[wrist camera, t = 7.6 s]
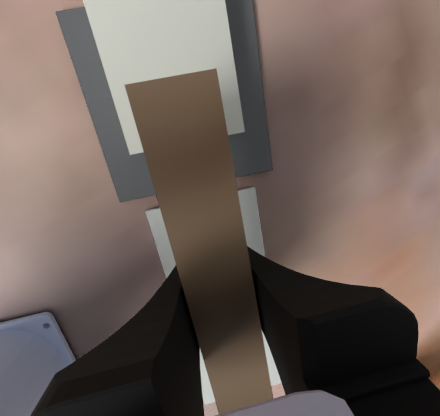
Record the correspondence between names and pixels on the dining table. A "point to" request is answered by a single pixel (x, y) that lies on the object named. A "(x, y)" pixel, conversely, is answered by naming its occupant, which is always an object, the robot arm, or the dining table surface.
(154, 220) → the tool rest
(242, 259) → the bar
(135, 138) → the tile
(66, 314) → the dining table surface
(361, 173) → the dining table surface
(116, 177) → the mat
